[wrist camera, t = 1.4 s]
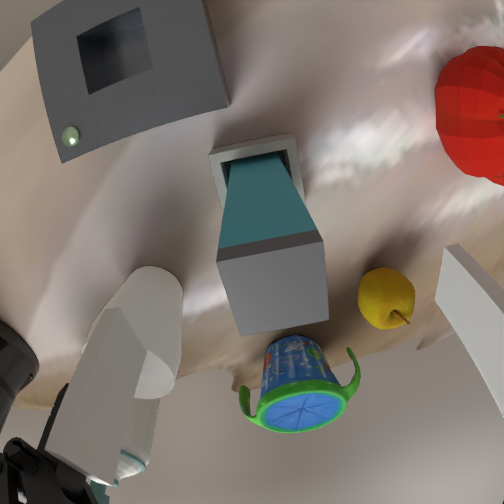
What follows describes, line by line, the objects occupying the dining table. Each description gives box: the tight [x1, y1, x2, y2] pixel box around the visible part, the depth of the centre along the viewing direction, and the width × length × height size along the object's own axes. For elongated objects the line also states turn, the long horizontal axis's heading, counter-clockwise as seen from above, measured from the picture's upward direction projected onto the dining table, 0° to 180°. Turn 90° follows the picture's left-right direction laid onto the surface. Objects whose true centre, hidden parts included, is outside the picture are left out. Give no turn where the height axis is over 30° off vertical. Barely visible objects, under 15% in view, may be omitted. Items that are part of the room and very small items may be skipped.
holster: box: [208, 133, 306, 213], centre depth 25 cm, size 7×7×3 cm
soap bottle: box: [87, 398, 160, 504], centre depth 27 cm, size 12×12×31 cm
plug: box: [216, 152, 329, 336], centre depth 19 cm, size 4×4×17 cm
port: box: [31, 0, 230, 164], centre depth 18 cm, size 14×14×6 cm
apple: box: [357, 267, 415, 329], centre depth 29 cm, size 6×6×8 cm
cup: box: [81, 266, 183, 399], centre depth 27 cm, size 9×9×12 cm
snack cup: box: [239, 335, 361, 433], centre depth 34 cm, size 16×11×10 cm
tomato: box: [435, 46, 504, 186], centre depth 17 cm, size 13×14×12 cm
